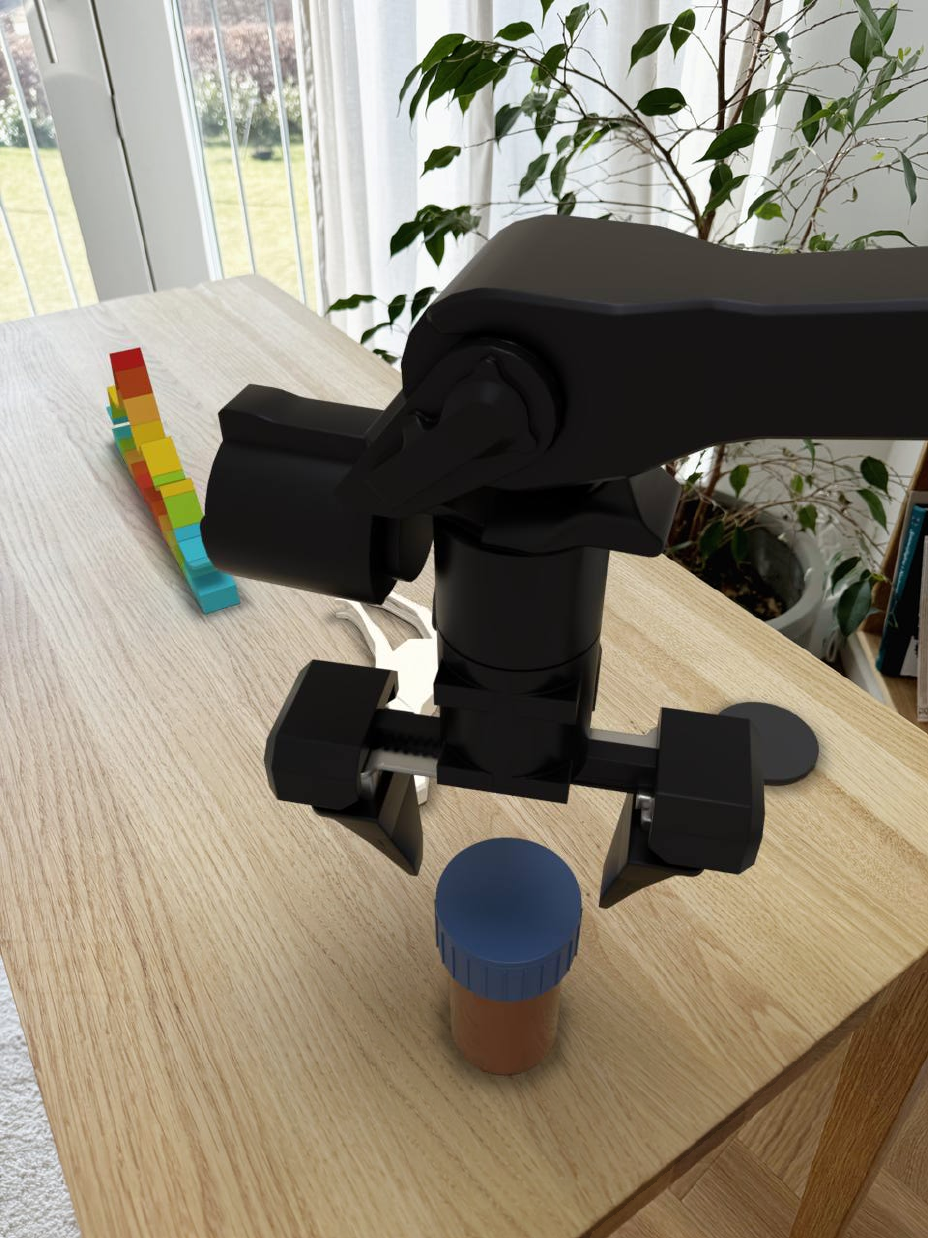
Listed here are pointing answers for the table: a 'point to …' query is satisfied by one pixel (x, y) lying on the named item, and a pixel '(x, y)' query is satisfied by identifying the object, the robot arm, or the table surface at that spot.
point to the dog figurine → (403, 660)
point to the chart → (163, 479)
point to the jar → (503, 1029)
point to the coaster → (780, 741)
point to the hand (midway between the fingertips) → (508, 883)
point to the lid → (507, 919)
